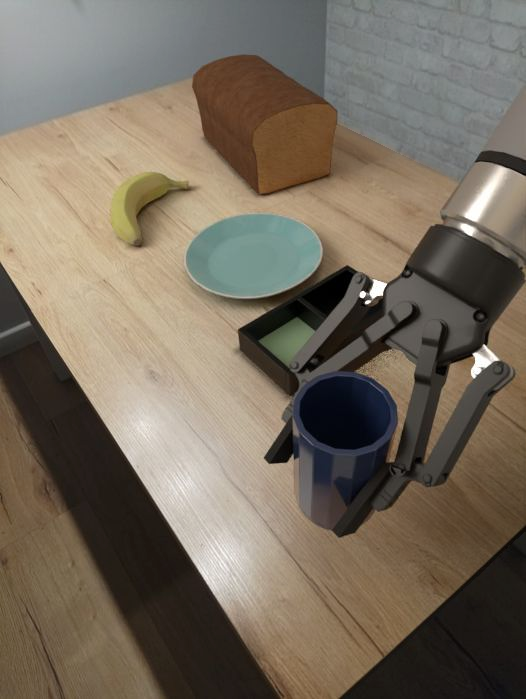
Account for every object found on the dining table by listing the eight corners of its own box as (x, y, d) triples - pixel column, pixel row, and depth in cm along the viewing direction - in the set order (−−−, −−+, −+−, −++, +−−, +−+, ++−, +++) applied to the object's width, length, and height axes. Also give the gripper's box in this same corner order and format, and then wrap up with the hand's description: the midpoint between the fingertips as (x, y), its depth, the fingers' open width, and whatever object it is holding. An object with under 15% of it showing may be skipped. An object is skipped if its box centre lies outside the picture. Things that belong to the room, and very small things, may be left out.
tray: (398, 321, 73) (402, 300, 70) (290, 396, 65) (289, 375, 62) (345, 285, 79) (347, 264, 76) (239, 350, 71) (237, 329, 68)
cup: (396, 495, 45) (419, 414, 36) (335, 549, 42) (344, 475, 33) (337, 440, 49) (344, 356, 40) (277, 486, 46) (272, 406, 37)
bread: (269, 119, 121) (266, 43, 109) (336, 174, 102) (341, 89, 90) (197, 138, 116) (186, 60, 104) (254, 200, 97) (248, 113, 85)
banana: (83, 187, 89) (171, 156, 100) (84, 213, 93) (169, 180, 105) (134, 232, 85) (220, 194, 97) (133, 257, 89) (215, 218, 101)
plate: (178, 313, 77) (175, 299, 75) (193, 228, 92) (190, 214, 90) (327, 308, 76) (328, 294, 74) (317, 223, 91) (318, 209, 89)
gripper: (630, 332, 33) (424, 584, 39) (391, 208, 45) (257, 417, 50) (627, 308, 28) (384, 611, 33) (353, 173, 39) (205, 414, 44)
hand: (307, 493), depth 42 cm, fingers closed on cup, 7 cm apart
